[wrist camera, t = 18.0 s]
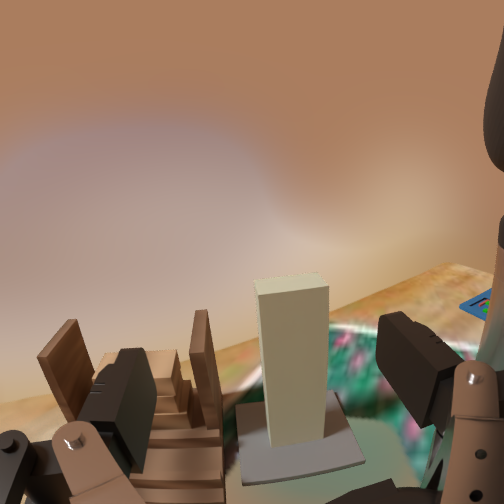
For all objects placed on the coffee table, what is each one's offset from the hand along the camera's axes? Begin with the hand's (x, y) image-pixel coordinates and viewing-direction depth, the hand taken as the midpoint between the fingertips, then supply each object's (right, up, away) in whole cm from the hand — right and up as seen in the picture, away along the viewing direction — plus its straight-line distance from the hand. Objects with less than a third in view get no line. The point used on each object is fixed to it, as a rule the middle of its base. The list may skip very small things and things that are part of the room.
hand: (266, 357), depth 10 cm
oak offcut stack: (-12, -14, +20) cm, 27 cm away
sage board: (+4, -14, +18) cm, 23 cm away
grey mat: (+4, -15, +18) cm, 23 cm away
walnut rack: (-11, -16, +17) cm, 26 cm away
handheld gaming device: (+44, -7, +36) cm, 57 cm away
